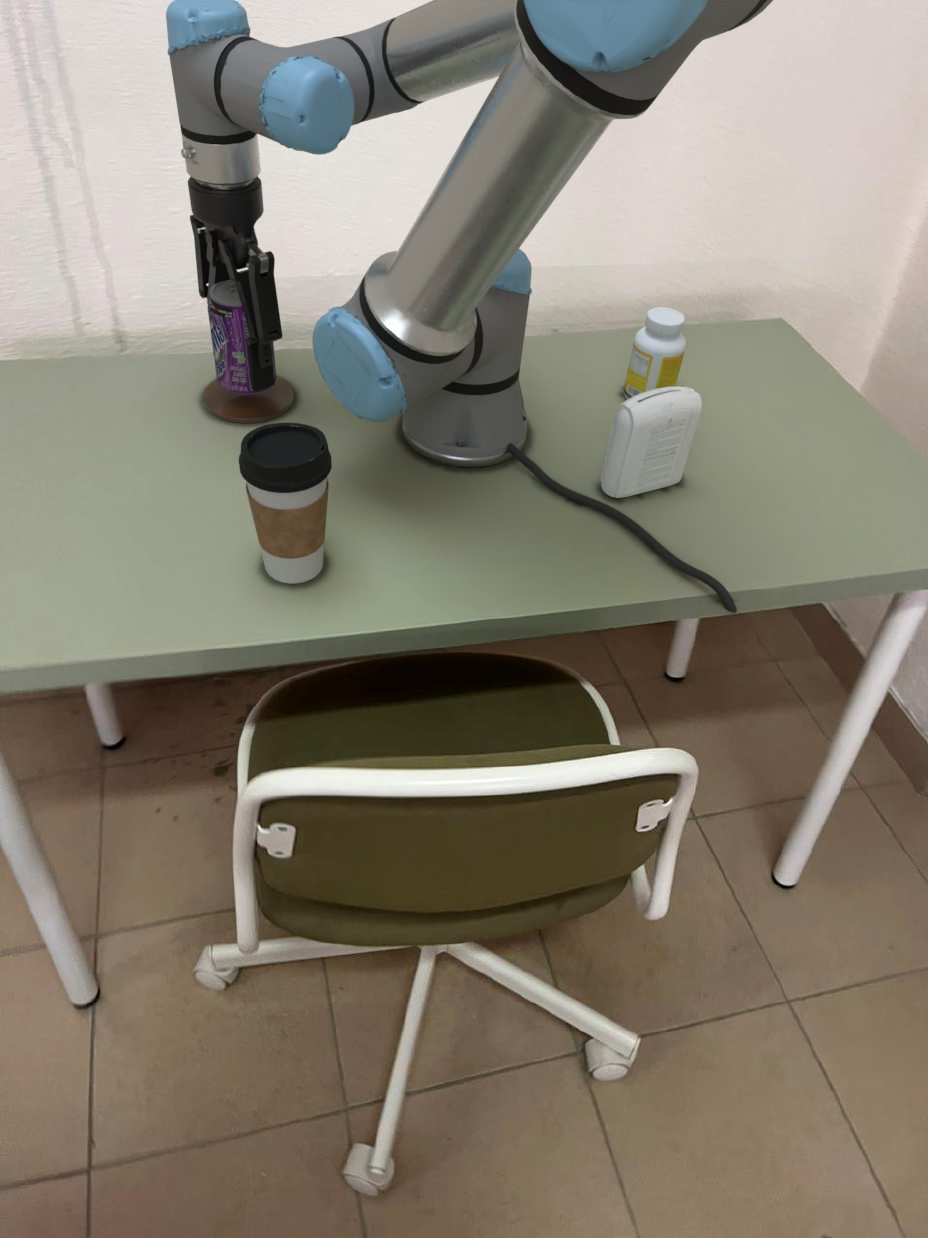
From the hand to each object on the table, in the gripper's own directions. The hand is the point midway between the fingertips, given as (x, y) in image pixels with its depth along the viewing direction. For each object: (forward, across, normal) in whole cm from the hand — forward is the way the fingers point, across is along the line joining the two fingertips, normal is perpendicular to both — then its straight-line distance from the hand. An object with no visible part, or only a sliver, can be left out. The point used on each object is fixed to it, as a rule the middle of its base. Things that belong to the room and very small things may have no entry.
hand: (246, 372), depth 111 cm
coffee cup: (+4, +29, -12) cm, 32 cm away
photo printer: (+4, +41, +28) cm, 50 cm away
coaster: (+4, 0, 0) cm, 4 cm away
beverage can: (+2, 0, 0) cm, 2 cm away
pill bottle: (+4, +29, +42) cm, 52 cm away
